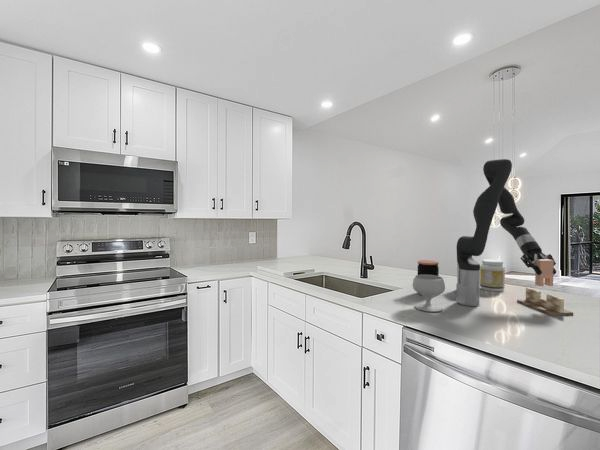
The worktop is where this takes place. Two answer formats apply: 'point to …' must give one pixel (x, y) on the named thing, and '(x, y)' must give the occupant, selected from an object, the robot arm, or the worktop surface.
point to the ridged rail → (544, 303)
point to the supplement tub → (492, 275)
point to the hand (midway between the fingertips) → (547, 273)
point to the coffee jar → (428, 267)
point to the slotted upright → (544, 272)
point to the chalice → (428, 290)
